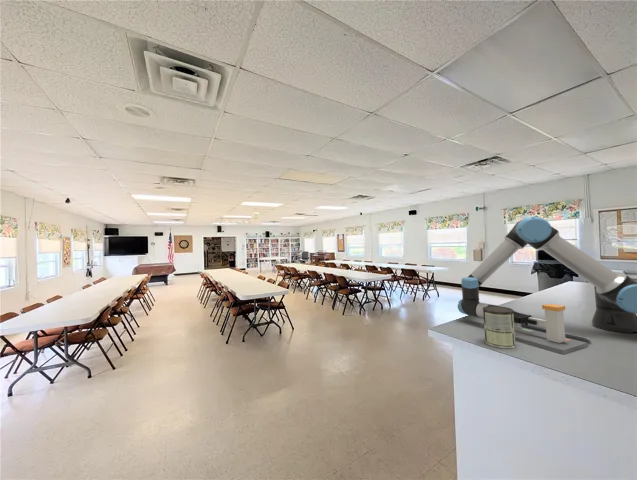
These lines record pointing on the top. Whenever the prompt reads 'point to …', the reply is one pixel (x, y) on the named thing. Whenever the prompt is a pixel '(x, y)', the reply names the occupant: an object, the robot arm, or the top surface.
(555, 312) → the breaker handle
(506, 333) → the coffee can
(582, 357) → the top surface
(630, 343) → the top surface
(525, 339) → the switch panel
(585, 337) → the grey flat bar
